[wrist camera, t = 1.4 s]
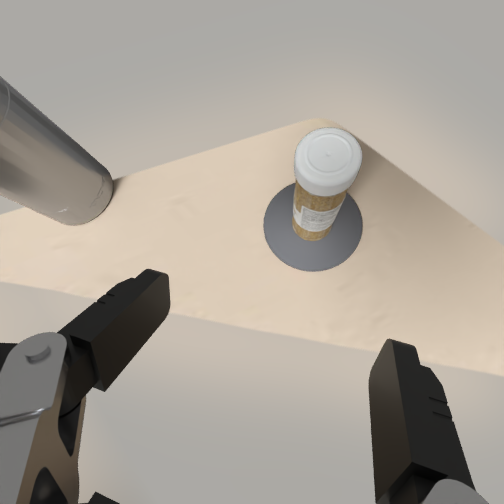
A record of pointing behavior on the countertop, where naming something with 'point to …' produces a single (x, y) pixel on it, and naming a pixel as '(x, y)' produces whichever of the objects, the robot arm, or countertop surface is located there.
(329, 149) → the sprinkles bottle
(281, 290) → the countertop surface
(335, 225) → the coaster
